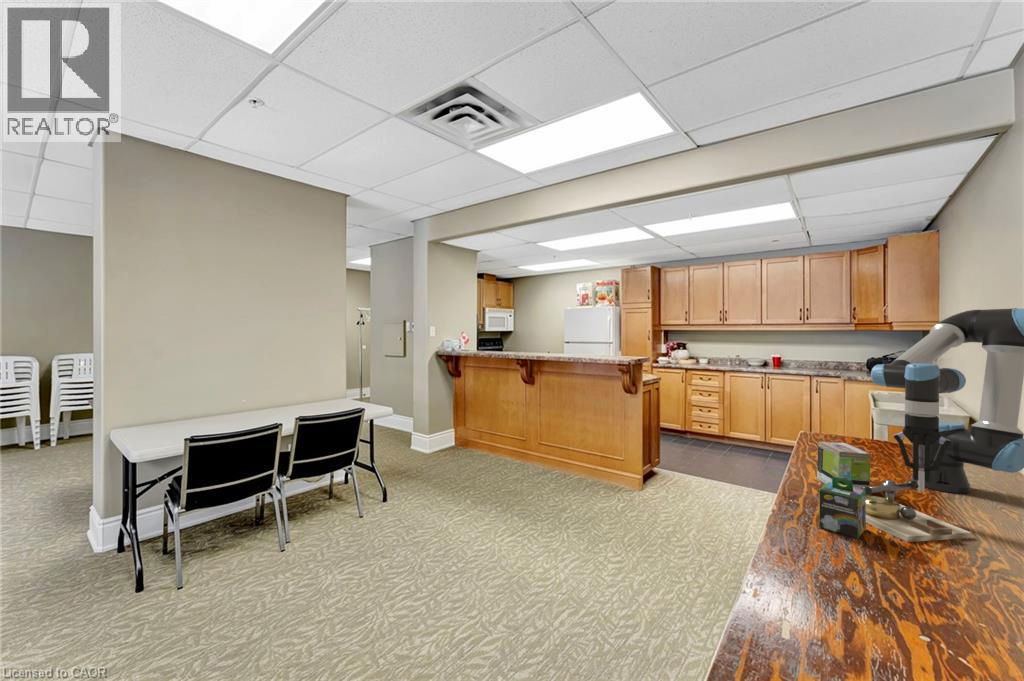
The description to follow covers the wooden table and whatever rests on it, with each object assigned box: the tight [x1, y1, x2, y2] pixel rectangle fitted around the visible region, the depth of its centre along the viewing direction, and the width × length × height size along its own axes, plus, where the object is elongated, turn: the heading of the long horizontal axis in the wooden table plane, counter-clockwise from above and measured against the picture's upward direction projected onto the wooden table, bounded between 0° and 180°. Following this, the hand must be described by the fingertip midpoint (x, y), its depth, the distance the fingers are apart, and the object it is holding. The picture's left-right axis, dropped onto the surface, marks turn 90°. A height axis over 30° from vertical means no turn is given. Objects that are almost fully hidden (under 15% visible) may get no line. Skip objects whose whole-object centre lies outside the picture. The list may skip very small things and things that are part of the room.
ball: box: [900, 506, 916, 520], centre depth 124 cm, size 4×4×4 cm
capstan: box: [861, 479, 918, 519], centre depth 129 cm, size 22×9×9 cm, turn 105°
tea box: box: [816, 441, 872, 489], centre depth 154 cm, size 15×10×15 cm, turn 168°
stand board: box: [866, 503, 972, 543], centre depth 124 cm, size 20×19×3 cm
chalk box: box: [818, 477, 867, 540], centre depth 121 cm, size 9×9×15 cm
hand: (920, 490), depth 130 cm, fingers closed
